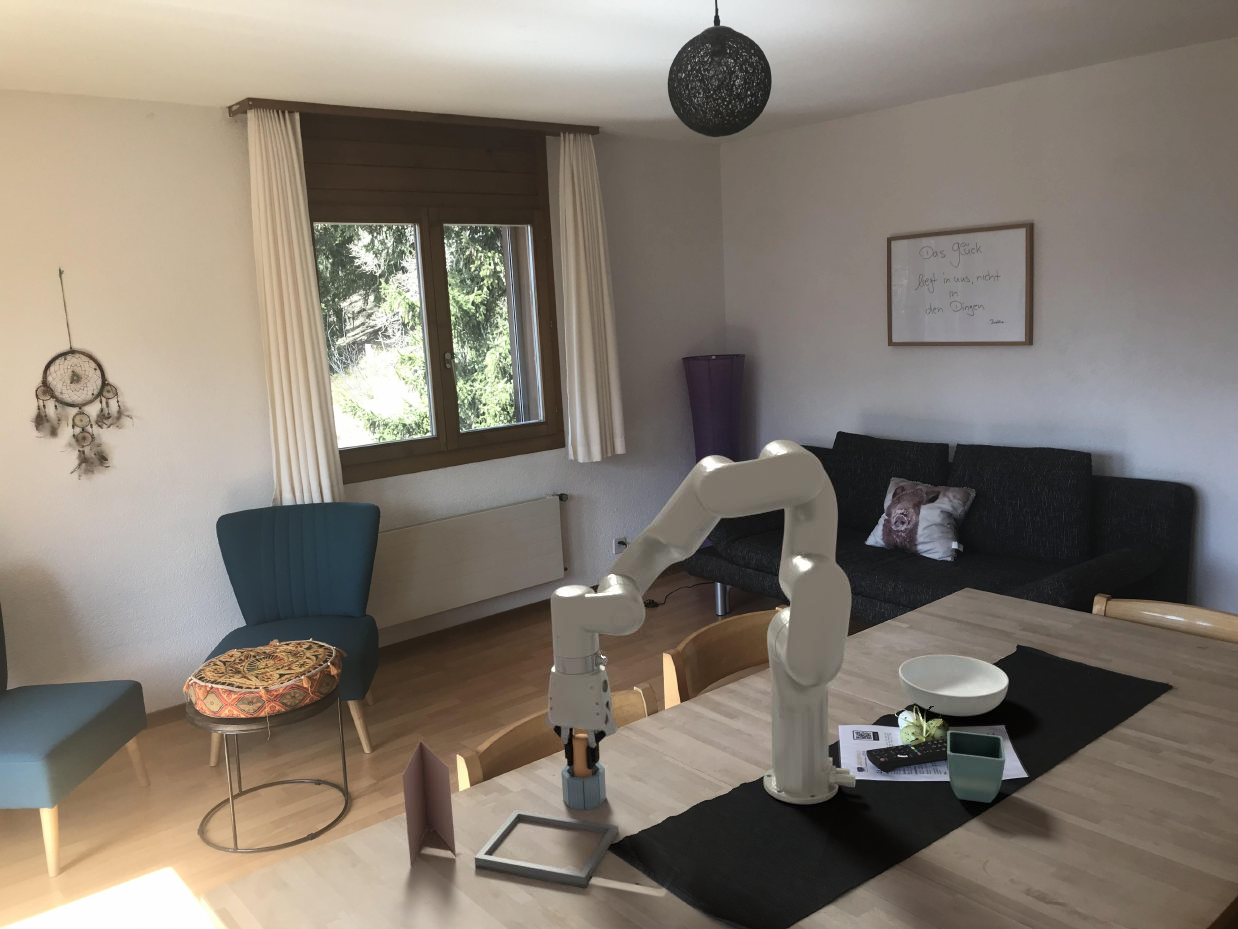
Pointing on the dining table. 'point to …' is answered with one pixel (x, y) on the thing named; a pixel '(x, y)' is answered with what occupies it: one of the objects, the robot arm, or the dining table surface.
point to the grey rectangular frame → (543, 871)
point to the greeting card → (427, 798)
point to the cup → (584, 788)
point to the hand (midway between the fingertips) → (582, 763)
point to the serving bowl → (953, 684)
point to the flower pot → (975, 765)
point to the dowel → (580, 756)
